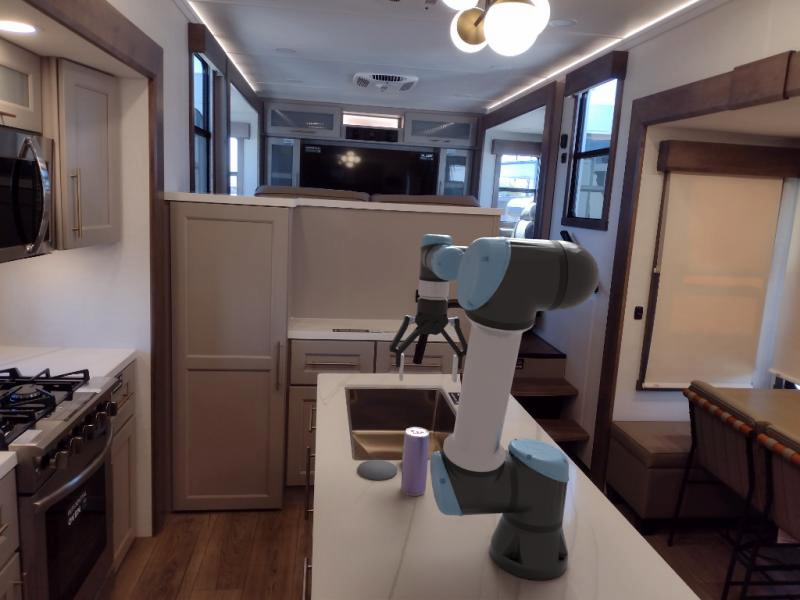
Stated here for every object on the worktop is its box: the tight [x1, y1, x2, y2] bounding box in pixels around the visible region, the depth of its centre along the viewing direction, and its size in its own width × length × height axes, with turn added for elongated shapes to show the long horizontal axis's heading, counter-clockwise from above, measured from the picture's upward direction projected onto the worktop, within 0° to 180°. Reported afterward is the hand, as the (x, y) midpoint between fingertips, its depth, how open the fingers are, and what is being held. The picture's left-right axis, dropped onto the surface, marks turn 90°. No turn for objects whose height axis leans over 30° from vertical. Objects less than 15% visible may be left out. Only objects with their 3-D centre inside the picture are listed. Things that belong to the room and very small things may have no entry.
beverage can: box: [400, 426, 430, 497], centre depth 138 cm, size 6×6×15 cm
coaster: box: [357, 459, 398, 481], centre depth 148 cm, size 10×10×1 cm
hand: (427, 380), depth 147 cm, fingers open, 13 cm apart
